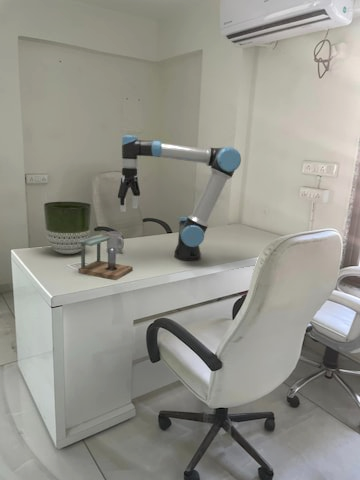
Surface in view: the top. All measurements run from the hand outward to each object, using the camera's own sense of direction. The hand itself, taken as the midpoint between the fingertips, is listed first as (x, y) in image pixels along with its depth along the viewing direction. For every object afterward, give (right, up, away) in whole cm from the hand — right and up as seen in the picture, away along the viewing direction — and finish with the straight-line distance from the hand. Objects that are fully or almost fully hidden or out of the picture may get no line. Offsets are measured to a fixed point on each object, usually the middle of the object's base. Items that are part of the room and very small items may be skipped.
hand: (129, 209), depth 188 cm
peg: (-7, -31, -13) cm, 34 cm away
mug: (-11, -23, +23) cm, 34 cm away
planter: (-36, -23, +16) cm, 45 cm away
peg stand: (-9, -31, -12) cm, 34 cm away
